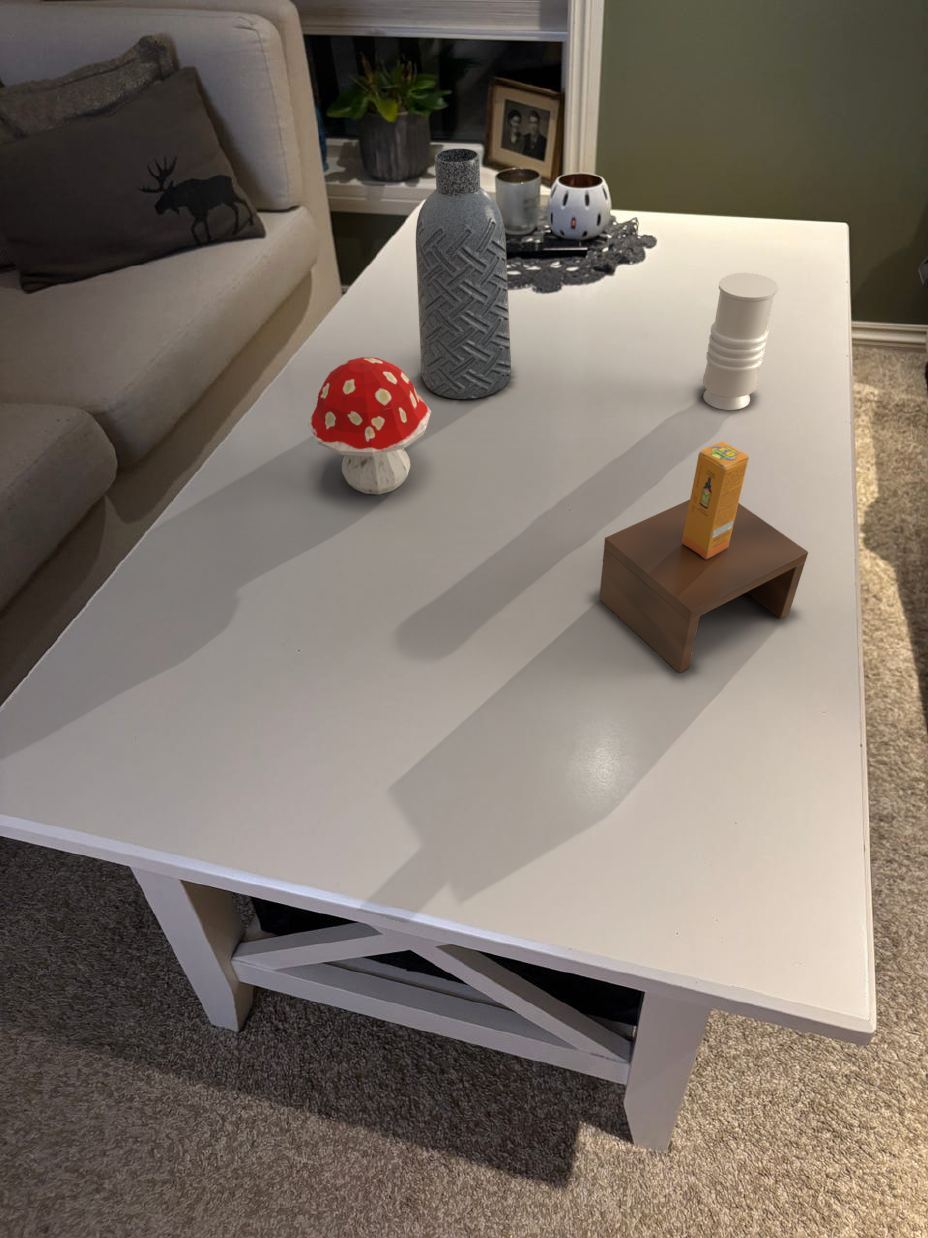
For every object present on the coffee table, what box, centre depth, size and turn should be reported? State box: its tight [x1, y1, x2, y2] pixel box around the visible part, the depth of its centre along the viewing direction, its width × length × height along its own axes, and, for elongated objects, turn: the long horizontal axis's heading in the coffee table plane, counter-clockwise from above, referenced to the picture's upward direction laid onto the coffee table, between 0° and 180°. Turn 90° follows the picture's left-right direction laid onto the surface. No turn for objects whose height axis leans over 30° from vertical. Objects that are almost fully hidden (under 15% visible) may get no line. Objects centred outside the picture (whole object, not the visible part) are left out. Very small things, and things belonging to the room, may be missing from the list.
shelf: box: [598, 499, 809, 674], centre depth 84 cm, size 12×14×8 cm
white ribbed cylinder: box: [702, 272, 779, 411], centre depth 108 cm, size 7×7×15 cm
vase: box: [415, 147, 512, 400], centre depth 110 cm, size 12×12×28 cm
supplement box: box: [682, 441, 750, 559], centre depth 77 cm, size 3×3×10 cm
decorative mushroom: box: [307, 356, 432, 495], centre depth 99 cm, size 14×14×15 cm
